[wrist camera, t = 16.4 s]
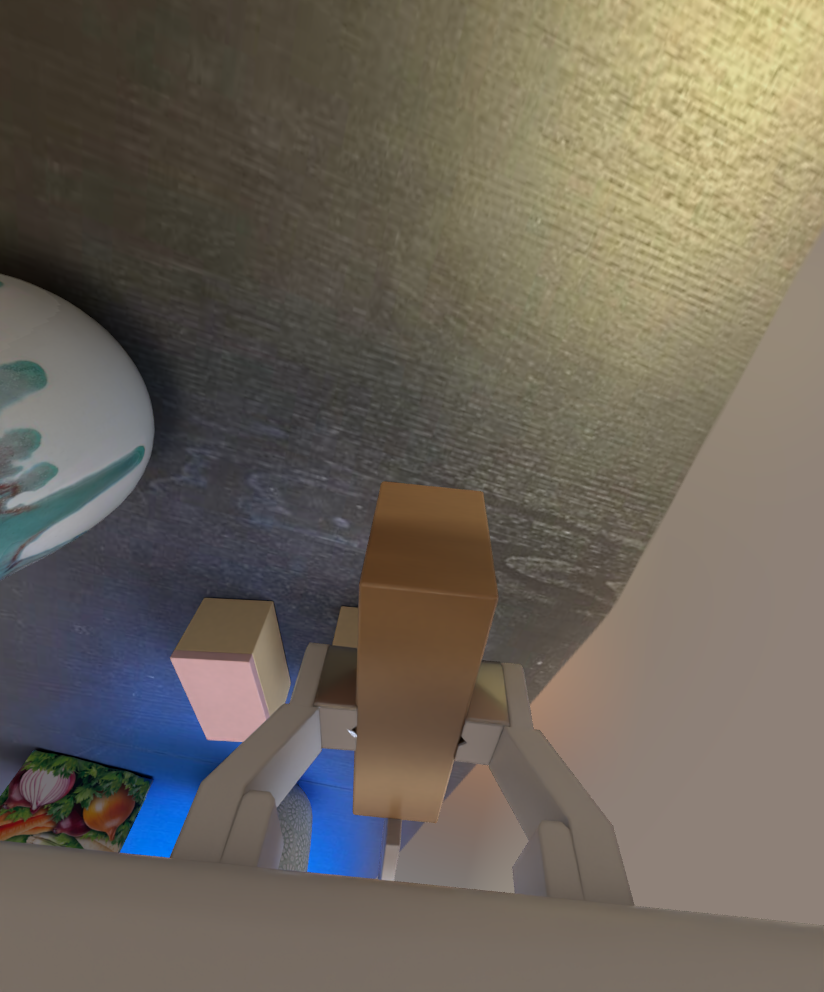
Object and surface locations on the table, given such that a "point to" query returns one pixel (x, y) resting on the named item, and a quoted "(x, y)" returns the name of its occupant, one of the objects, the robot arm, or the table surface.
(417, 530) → the knife
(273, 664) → the cake slice
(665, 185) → the table surface
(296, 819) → the planter
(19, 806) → the blue food package
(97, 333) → the vase
